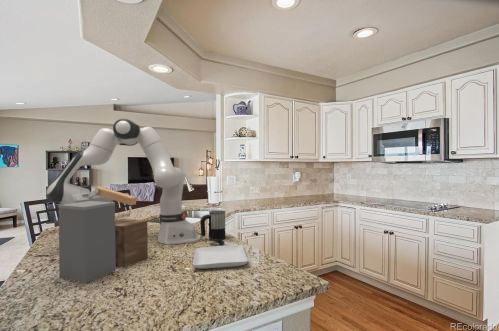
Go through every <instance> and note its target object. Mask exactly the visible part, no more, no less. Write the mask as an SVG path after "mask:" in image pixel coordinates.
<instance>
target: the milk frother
mask: <svg viewBox="0 0 499 331" xmlns="http://www.w3.org/2000/svg"><path fill="white" fill-rule="evenodd" d="M208 213H209V214H205V215H202V217H201V218H200V222H199V224H200V236H202V237H206V224H205V222H206V220H208V240H210V241H212V242H214V243H216V244H218V245H222V244H224V243H225V240H226V239H227V238H226V237H227V236H226V213H227V211H226V210H209V211H208Z"/></svg>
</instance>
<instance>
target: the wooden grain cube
mask: <svg viewBox="0 0 499 331" xmlns="http://www.w3.org/2000/svg"><path fill="white" fill-rule="evenodd" d="M148 243H149V241H148V220H145V219H144V220H143V219H133V218H121V219H115V249H116V265H118V266H117V267H121V266H123V267H122V268H126V267H128V265H129V266H131V265H133V264H135V263H136V264H137V263H138V262H141V261H142V260H143V261H144V260H145V259H148V258H149V254H148V250H149V248H148Z"/></svg>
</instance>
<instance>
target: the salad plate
mask: <svg viewBox="0 0 499 331" xmlns="http://www.w3.org/2000/svg"><path fill="white" fill-rule="evenodd" d="M193 256H194V257H193V260H192V266H193V267H194V268H195V269H198V270H199V269H201V270H206V269H207V270H208V269H220V268H234V267H241V266H245V265H246V264H247V263H249V259H248V257H247V254H246V252H245V250H244V246H243V244H236V245H235V244H233V245H218V246H217V245H216V246H207V247H204V246H203V247H196V248H195V249H194V255H193Z"/></svg>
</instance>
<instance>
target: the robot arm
mask: <svg viewBox="0 0 499 331" xmlns="http://www.w3.org/2000/svg"><path fill="white" fill-rule="evenodd" d="M137 144H139V146H140V147H141V149H142V150H143V152H144V154H145V157H146V158H147V160H148V162H149V164H150V167H151V170H152V172H153V176H154V177H153V180H154V183H155V185H156V186H158V188H162V194H161V196H160V199H159V204H160V205H159V206H160V207H159V209H160V210H159V213H160V214H159V216H158V219H159V220H158V221H159V232H158V233H159V234H158V238H157V240H156V241H157V243H160V244H165V245H167V246H170V245H179V244H190V243H198V242H199V241H200V240H201V239H202V238H201V236H202V235H201V234H199V233H197V229H196V226H195V225H194V224H193V223H192V222H190V221H188V220H187V219H186V218H187V216H186V213H183V212H182V209H183V208H182V200H183V198H182V197H183V189H184V185H185V183H184V182H185V179H186V178H185V177H186V175H185V172H184V171H183V170H182V169H181V168H179V167H175V166H174V164H173V162H172V160H171V157H170V156H171V155H170V152H169V151H168V148H167V146H166V144H165V143H164V142H163V140H162V138H161V137H160V135H159V133H157V131H156V130H155V129H154V128H153V127H152V126H144V127H141V126H140V125H138V124H136V123H135V122H134V121H132V120H130V119H128V118H119V119H117V120H116V121H115V122H114V123H113V126H112V129H111V128H108V127H101V128H100V129H99V130H98V131H97V132H96V133H95V135H94V137H93V138H92V140H91V141H90V144H89V145H88V146H87V147H86V148H85V149H84V150H83V151H78V152H77V153H76V154H74V156H73V157H72V158H71V159H70V160H69V162H68V163H67V164H66V165H65V167H64V168H63V170H62V171H61V173H60V174H59V175H58V176H57V177H56V179H54V181H52V183H51V184H50V185H49V187H47V190H46V193H45V194H46V197H47V199H48V200H49V201H50V203H51V202H52V203H58V204H62V205H63V204H71V203H78V202H86V201H100V202H114V200H112V199H109V198H106V197H102V196H99V195H97V194H99V193H100V190H99V189H97V190H95V189H94V190H93V191H91V190H90V189H88V188H86V187H82V186H78V185H75V184H73V183H72V184H71V183H69V181H70V180H71V178H72V177H73V175H74V174H75V173H76V171H77V170H78V169H79V168H81V167H83V166H100V165H104V164H106V163H108V161H110V159H111V158H112V155H113V153H114V150H115V148H116V147H117V146H118V145H119V146H128V147H131V146H135V145H137Z"/></svg>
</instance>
